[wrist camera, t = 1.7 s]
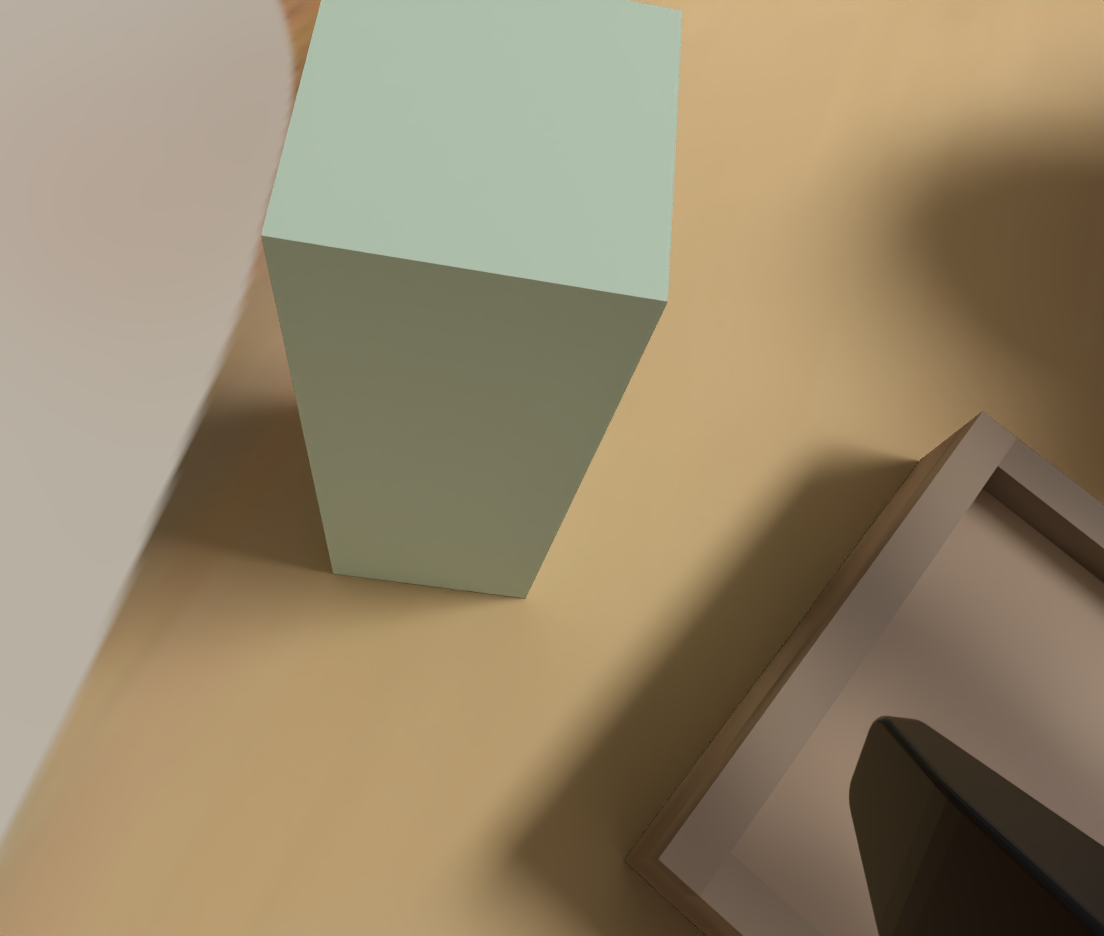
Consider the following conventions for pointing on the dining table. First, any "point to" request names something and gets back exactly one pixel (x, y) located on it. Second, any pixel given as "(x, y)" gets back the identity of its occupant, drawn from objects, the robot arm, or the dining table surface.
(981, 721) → the tray
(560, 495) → the sage post
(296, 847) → the dining table surface
